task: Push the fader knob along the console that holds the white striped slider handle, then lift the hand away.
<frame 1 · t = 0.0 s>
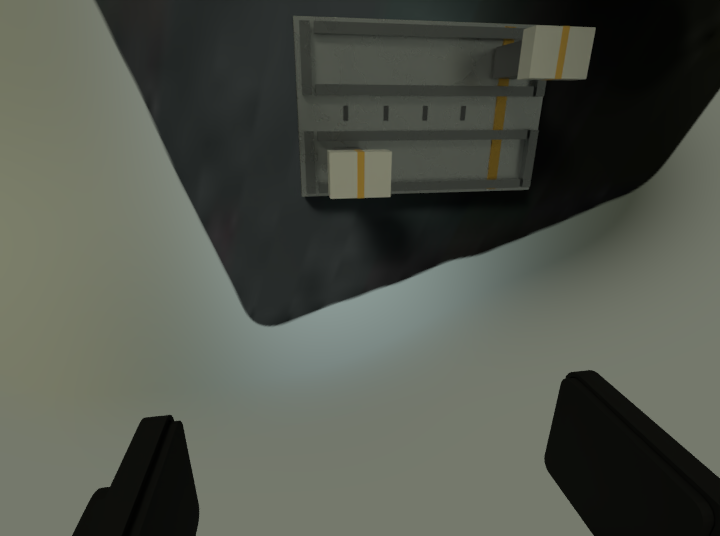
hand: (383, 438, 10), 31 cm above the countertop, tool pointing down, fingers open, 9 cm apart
console: (418, 112, 37), on the countertop
fader knob: (352, 168, 32), point 6 cm above the countertop, slide at 0.0 cm
white striped slider handle: (531, 58, 31), point 6 cm above the countertop, slide at 14.0 cm
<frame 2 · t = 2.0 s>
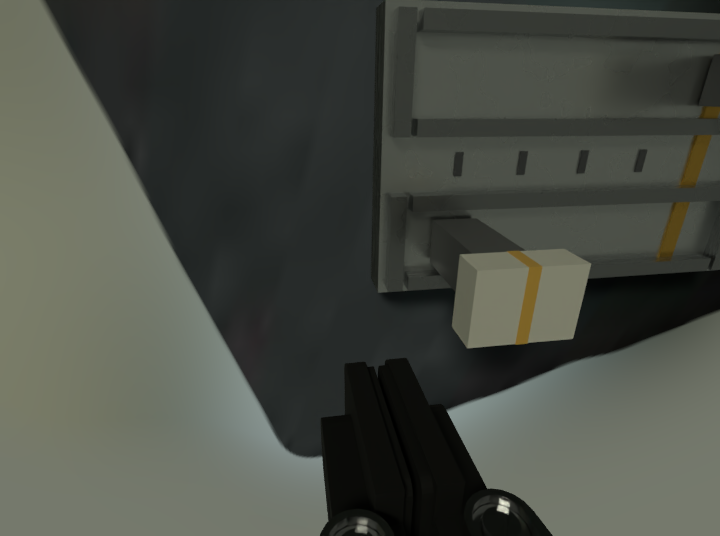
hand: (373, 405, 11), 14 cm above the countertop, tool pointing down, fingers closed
console: (559, 156, 24), on the countertop
fader knob: (483, 267, 19), point 6 cm above the countertop, slide at 0.0 cm
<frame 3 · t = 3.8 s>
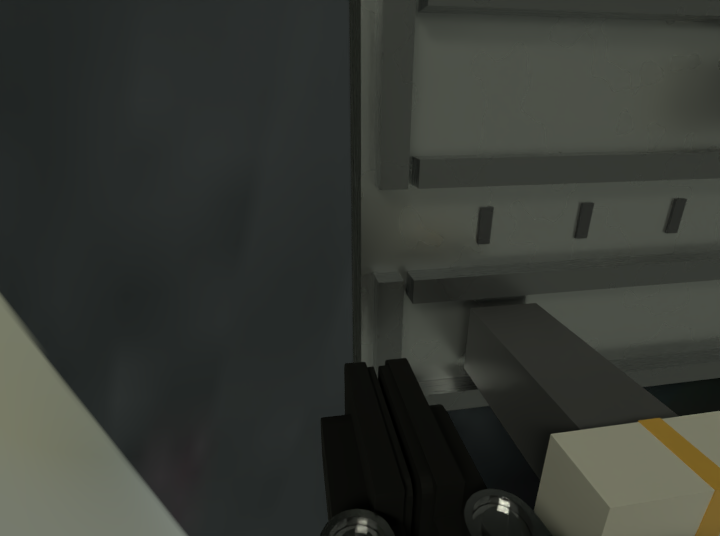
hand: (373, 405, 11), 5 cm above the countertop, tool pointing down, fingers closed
console: (629, 203, 16), on the countertop
fader knob: (567, 409, 11), point 6 cm above the countertop, slide at 0.9 cm, touching gripper
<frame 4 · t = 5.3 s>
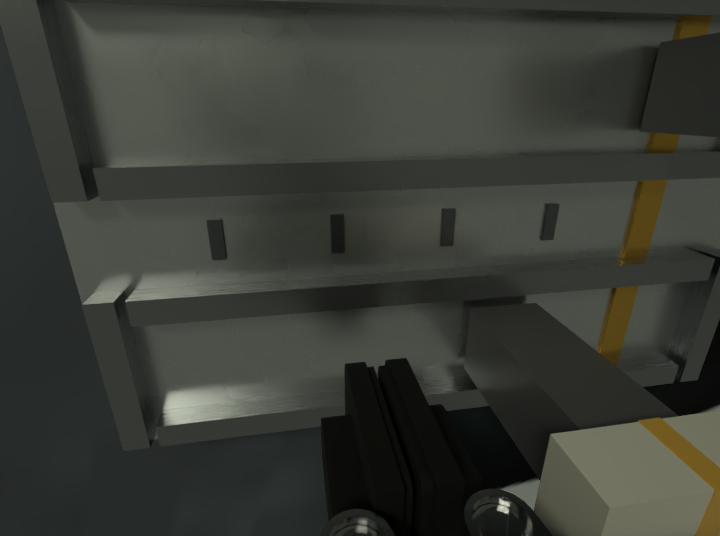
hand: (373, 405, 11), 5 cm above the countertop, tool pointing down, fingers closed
console: (427, 212, 15), on the countertop
fader knob: (567, 409, 11), point 6 cm above the countertop, slide at 9.1 cm, touching gripper
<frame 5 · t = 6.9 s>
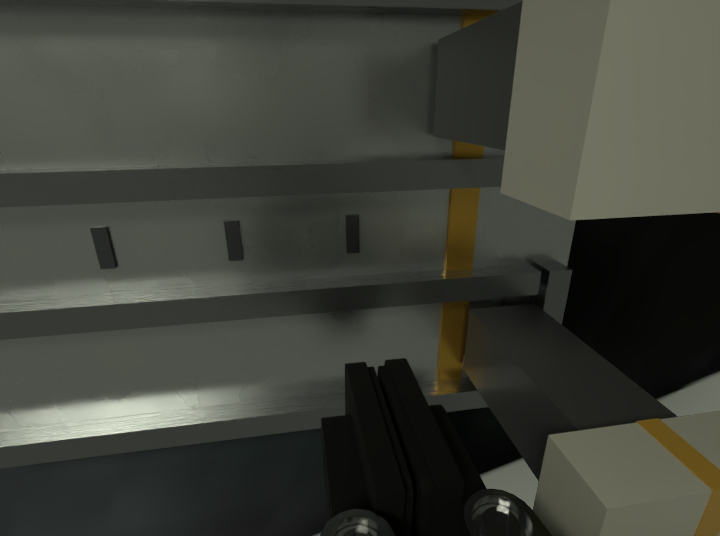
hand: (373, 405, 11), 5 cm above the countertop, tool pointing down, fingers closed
console: (241, 222, 14), on the countertop
fader knob: (566, 410, 11), point 6 cm above the countertop, slide at 15.6 cm, touching console, gripper
white striped slider handle: (563, 81, 8), point 6 cm above the countertop, slide at 14.0 cm
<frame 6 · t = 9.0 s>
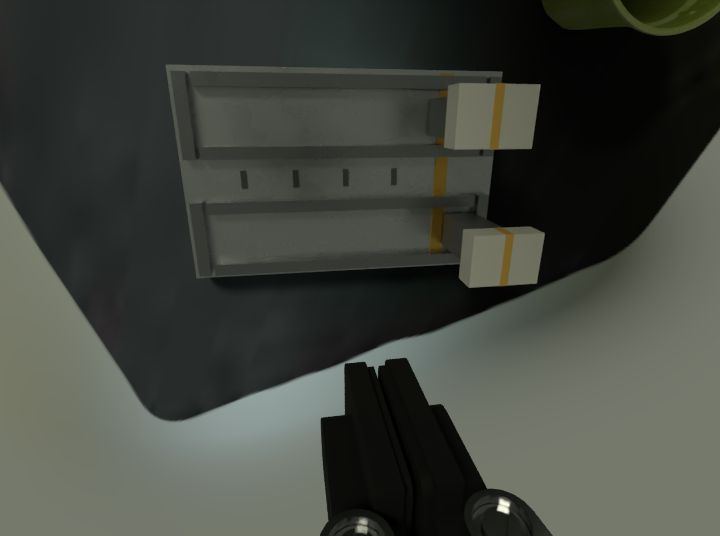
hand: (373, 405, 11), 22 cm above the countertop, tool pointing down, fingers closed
console: (342, 174, 31), on the countertop
fader knob: (479, 242, 28), point 6 cm above the countertop, slide at 15.6 cm, touching console
white striped slider handle: (467, 117, 25), point 6 cm above the countertop, slide at 14.0 cm
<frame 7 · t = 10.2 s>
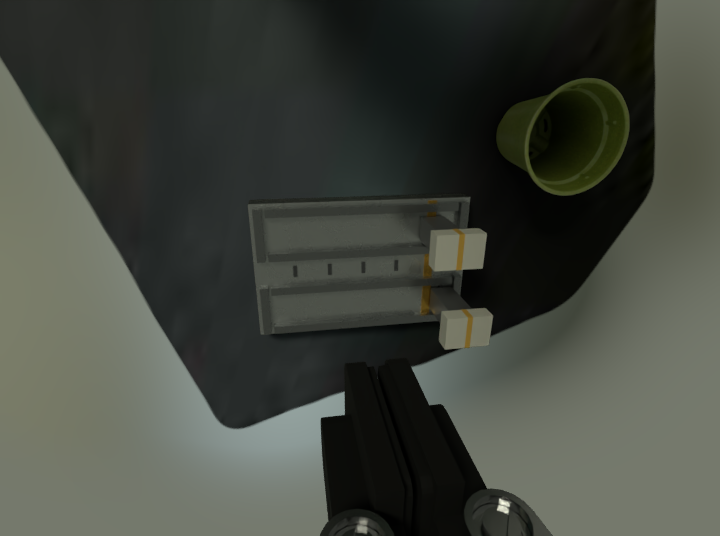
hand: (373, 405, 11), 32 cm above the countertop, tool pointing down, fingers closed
console: (360, 260, 44), on the countertop
plant pot: (522, 133, 42), on the countertop
fader knob: (453, 313, 41), point 6 cm above the countertop, slide at 15.6 cm, touching console
white striped slider handle: (444, 239, 38), point 6 cm above the countertop, slide at 14.0 cm
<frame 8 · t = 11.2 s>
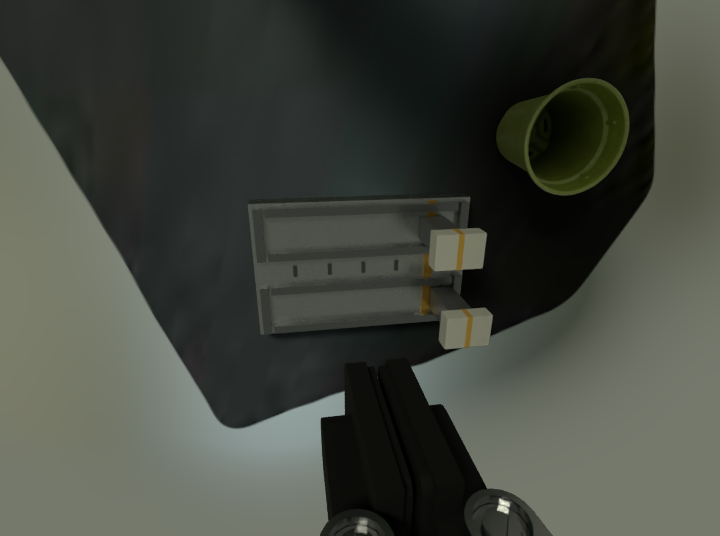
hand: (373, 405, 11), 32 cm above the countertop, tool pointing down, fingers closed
console: (360, 260, 44), on the countertop
plant pot: (522, 133, 42), on the countertop
fader knob: (453, 313, 41), point 6 cm above the countertop, slide at 15.6 cm, touching console
white striped slider handle: (444, 239, 38), point 6 cm above the countertop, slide at 14.0 cm
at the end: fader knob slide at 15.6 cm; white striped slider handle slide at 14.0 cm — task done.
